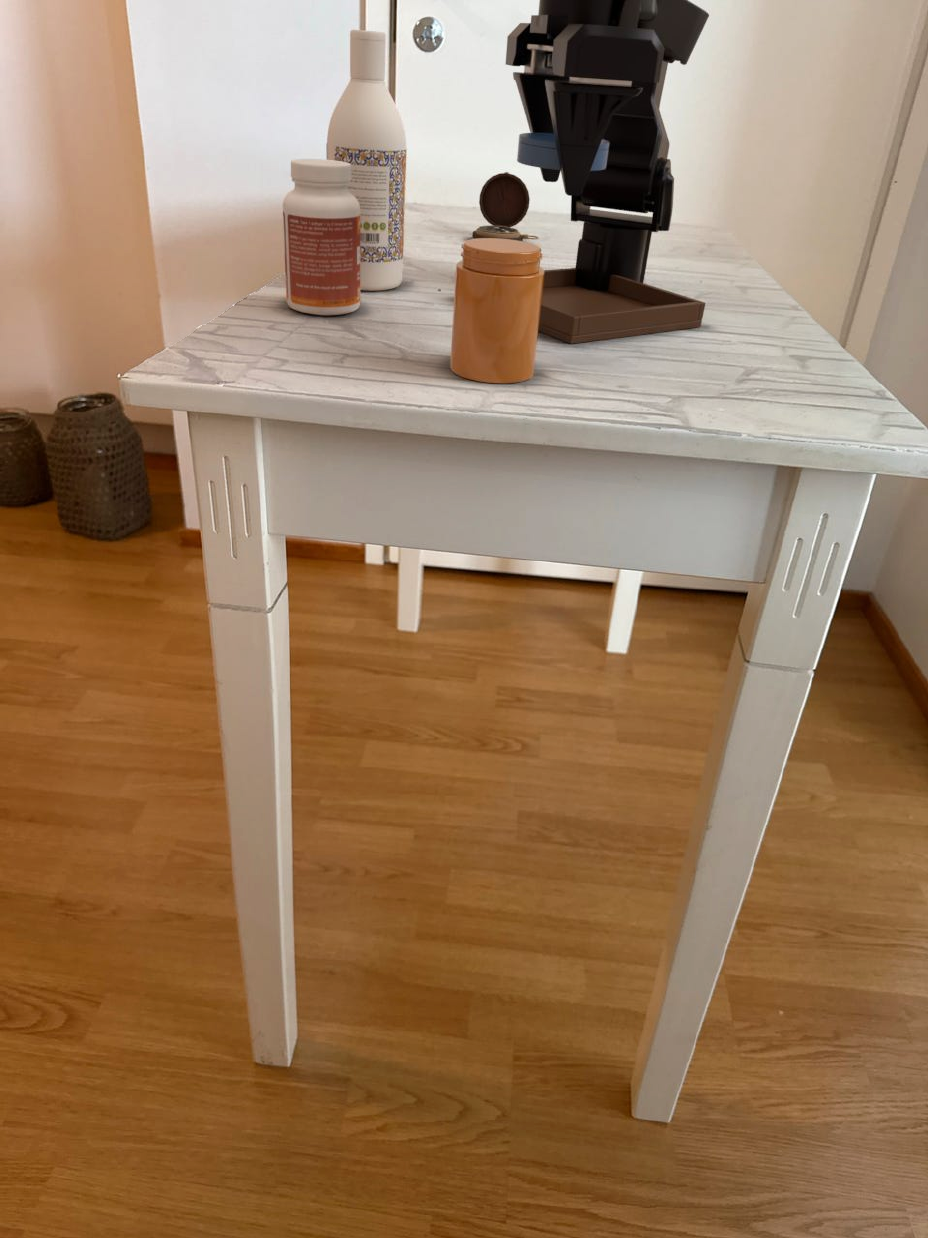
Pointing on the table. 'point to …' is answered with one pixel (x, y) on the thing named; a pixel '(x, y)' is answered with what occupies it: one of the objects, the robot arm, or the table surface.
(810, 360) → the table surface
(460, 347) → the jar
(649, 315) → the tray
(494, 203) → the compass
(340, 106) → the bath foam
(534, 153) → the lid
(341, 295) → the pill bottle
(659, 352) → the table surface
